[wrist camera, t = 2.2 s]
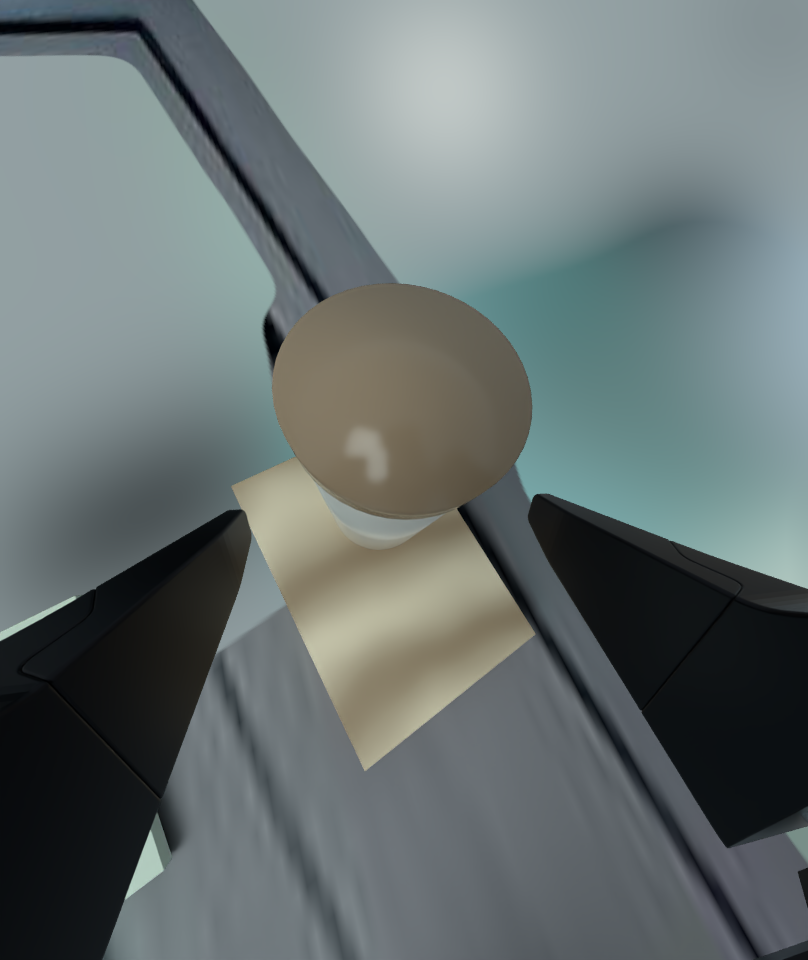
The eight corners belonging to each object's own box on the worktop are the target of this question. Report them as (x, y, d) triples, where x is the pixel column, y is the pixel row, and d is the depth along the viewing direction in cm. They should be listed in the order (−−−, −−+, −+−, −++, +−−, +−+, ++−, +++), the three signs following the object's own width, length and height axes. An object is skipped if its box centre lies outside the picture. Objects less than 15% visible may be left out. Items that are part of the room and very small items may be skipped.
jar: (444, 520, 18) (580, 434, 7) (360, 571, 17) (355, 569, 5) (396, 443, 19) (445, 258, 8) (313, 484, 18) (227, 328, 6)
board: (522, 629, 18) (535, 634, 17) (364, 752, 15) (364, 771, 14) (392, 421, 21) (394, 410, 20) (241, 492, 18) (231, 486, 17)
